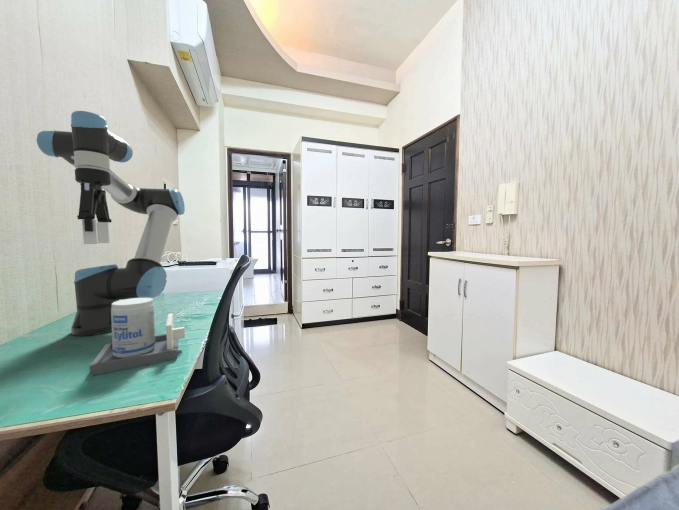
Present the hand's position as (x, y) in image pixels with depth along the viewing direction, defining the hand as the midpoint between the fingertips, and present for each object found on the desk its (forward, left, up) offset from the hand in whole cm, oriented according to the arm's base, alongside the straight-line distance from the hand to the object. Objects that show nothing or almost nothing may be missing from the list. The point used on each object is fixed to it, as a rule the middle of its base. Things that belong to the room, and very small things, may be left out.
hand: (97, 243), depth 78 cm
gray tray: (+11, +10, -32) cm, 35 cm away
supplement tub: (+11, +9, -31) cm, 34 cm away
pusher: (+11, +19, -31) cm, 37 cm away
